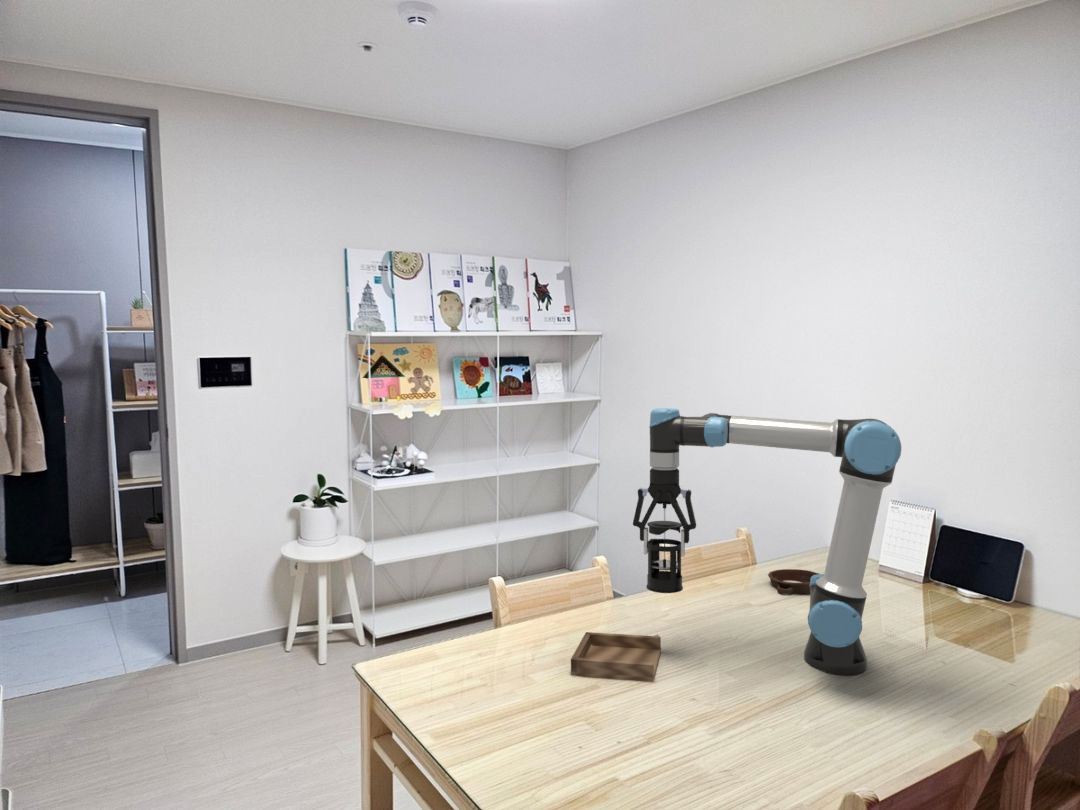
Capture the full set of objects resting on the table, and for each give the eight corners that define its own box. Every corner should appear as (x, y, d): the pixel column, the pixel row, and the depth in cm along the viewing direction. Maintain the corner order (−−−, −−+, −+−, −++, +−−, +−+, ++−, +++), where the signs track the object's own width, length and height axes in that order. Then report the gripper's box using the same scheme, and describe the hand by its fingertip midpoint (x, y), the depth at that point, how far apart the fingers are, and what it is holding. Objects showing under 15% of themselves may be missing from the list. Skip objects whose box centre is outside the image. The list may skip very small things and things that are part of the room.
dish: (755, 592, 250) (755, 577, 249) (785, 578, 266) (785, 564, 265) (806, 602, 238) (806, 586, 237) (834, 587, 254) (834, 572, 253)
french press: (691, 591, 193) (691, 502, 192) (659, 595, 189) (659, 505, 188) (667, 579, 204) (667, 495, 203) (637, 583, 200) (636, 497, 199)
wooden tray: (660, 651, 198) (660, 636, 198) (653, 681, 179) (653, 665, 179) (586, 646, 203) (585, 632, 203) (571, 675, 184) (570, 659, 184)
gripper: (707, 467, 195) (707, 553, 196) (625, 465, 201) (625, 548, 202) (706, 471, 188) (705, 560, 189) (620, 468, 194) (620, 555, 195)
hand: (664, 554), depth 196 cm, fingers closed on french press, 9 cm apart
